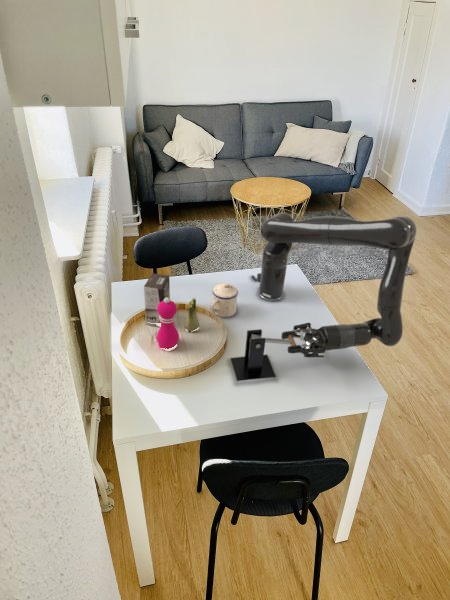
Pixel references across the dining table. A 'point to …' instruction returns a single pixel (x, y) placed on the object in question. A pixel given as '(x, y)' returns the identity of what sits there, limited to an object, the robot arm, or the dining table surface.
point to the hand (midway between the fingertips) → (285, 342)
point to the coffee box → (155, 296)
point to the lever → (276, 340)
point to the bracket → (253, 360)
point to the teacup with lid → (224, 299)
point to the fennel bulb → (192, 317)
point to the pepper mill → (167, 324)
